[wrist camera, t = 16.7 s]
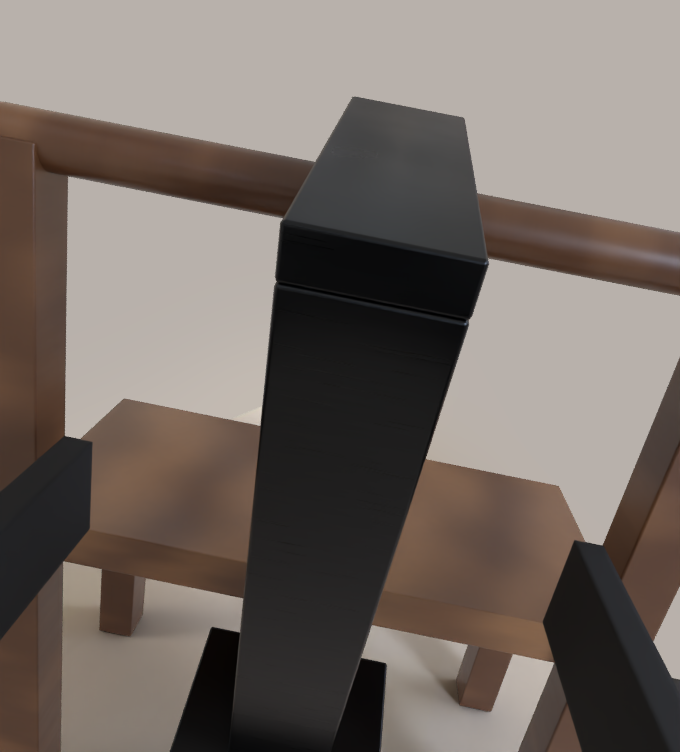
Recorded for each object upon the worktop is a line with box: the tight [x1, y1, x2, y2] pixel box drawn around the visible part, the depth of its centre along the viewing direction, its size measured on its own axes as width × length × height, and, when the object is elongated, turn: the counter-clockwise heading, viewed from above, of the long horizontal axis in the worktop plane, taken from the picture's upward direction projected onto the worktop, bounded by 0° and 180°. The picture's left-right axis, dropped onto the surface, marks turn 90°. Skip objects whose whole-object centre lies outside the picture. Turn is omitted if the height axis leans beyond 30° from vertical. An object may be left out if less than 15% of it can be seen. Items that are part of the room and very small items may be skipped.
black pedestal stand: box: [170, 97, 489, 752], centre depth 17 cm, size 11×7×20 cm, turn 175°
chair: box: [0, 102, 680, 752], centre depth 22 cm, size 20×10×24 cm, turn 85°
